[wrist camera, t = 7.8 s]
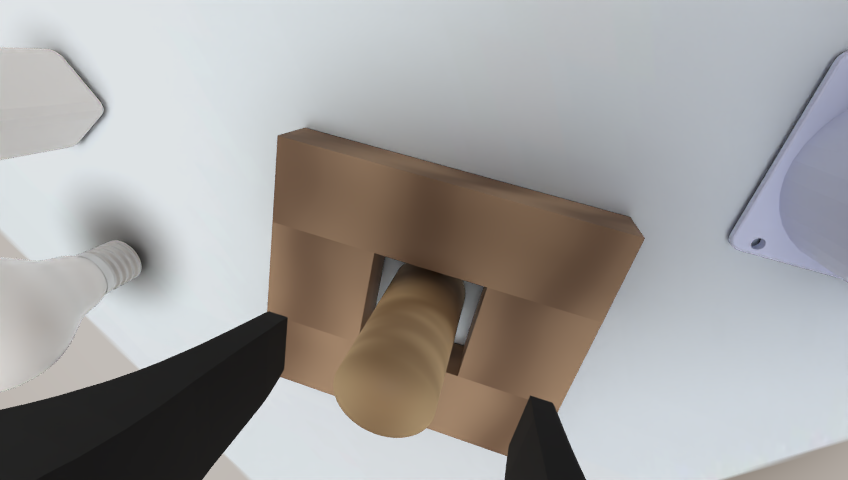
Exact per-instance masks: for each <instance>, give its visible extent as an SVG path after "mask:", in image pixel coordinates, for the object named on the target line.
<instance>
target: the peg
mask: <svg viewBox="0 0 848 480" xmlns="http://www.w3.org/2000/svg"><path fill="white" fill-rule="evenodd" d="M464 299H465V288H464V284H463V281H462V280H461V279H458V278H454V277H451V276H448V275H444V274H441V273H438V272H435V271H431V270H428V269H425V268H422V267H418V266H415V265H412V264H408V263H405V264H404V265H403V266H402V267H401V268H400V269H399V270H398V272H397V273H396V275H395V277H394V278H393V280H392V282H391V283H390V285H389V286H388V288H387V290H386V291H385V293H384V295H383V296H382V298H381V299H380V301H379V303H378V304H377V306H376V308H375V309H374V311H373V313H372V314H371V316H370V317H369V319H368V321H367V322H366V324H365V326H364V327H363V329H362V331H361V332H360V334H359V335H358V337H357V339H356V340H355V342H354V344H353V345H352V347H351V349H350V350H349V352H348V353H347V355H346V357H345V358H344V360H343V362H342V363H341V365H340V366H339V368H338V370H337V372H336V374H335V377H334V383H333V388H334V394H335V397H336V400H337V402H338V404H339V406H340V407H341V409H342V410H343V412H344V413H345V414H346V415H347V416H348V417H349V418H350V419H351V420H352V421H353V422H355V423H356V424H357V425H359V426H360V427H362V428H364V429H366V430H367V431H370V432H372V433H374V434H378V435H381V436H385V437H392V438H402V437H409V436H413V435H416V434H418V433H420V432H422V431H423V430H425V429H426V428H427V427H428V426H429V425H430V423H431V422H432V420H433V418H434V416H435V412H436V408H437V405H438V401H439V397H440V393H441V389H442V385H443V381H444V377H445V373H446V369H447V366H448V362H449V358H450V354H451V350H452V346H453V342H454V338H455V334H456V331H457V327H458V323H459V319H460V315H461V311H462V307H463V303H464Z"/></svg>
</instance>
